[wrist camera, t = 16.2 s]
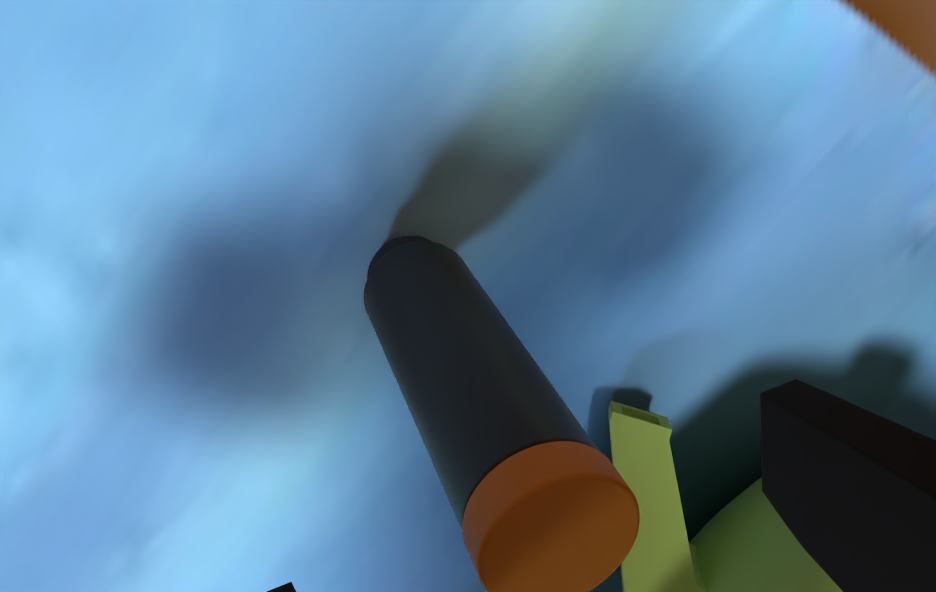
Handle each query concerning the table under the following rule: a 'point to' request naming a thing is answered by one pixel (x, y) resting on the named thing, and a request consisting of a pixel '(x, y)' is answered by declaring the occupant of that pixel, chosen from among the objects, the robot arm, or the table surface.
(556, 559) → the marker
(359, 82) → the table surface
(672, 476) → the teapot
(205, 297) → the table surface
